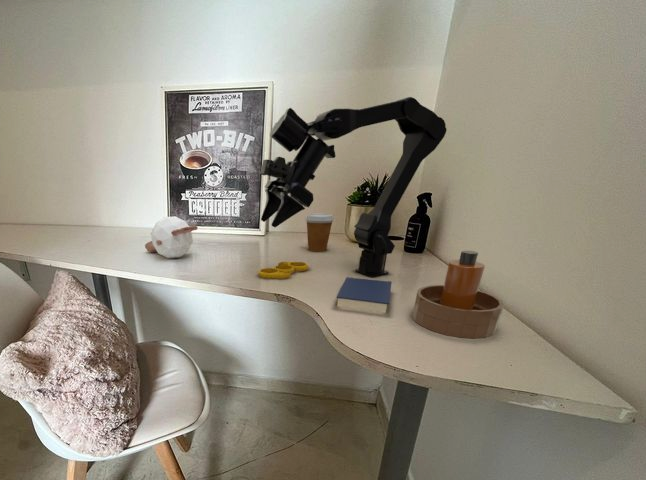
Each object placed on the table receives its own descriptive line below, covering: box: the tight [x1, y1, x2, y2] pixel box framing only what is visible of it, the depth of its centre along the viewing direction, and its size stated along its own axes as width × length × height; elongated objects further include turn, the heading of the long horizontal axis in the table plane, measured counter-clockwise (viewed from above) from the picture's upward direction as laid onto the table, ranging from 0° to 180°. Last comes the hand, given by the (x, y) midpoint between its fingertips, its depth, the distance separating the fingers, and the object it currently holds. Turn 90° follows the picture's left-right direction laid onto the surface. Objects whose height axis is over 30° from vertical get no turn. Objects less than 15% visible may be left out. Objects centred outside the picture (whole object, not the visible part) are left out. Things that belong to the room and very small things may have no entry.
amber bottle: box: [440, 250, 486, 310], centre depth 59 cm, size 5×5×13 cm
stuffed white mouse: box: [144, 216, 198, 259], centre depth 110 cm, size 14×25×14 cm, turn 51°
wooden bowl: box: [411, 284, 505, 339], centre depth 61 cm, size 13×13×6 cm
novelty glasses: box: [258, 261, 309, 280], centre depth 94 cm, size 17×2×10 cm
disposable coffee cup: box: [305, 213, 334, 253], centre depth 116 cm, size 10×10×12 cm
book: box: [336, 276, 392, 314], centre depth 73 cm, size 14×10×3 cm
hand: (267, 223), depth 81 cm, fingers open, 9 cm apart
